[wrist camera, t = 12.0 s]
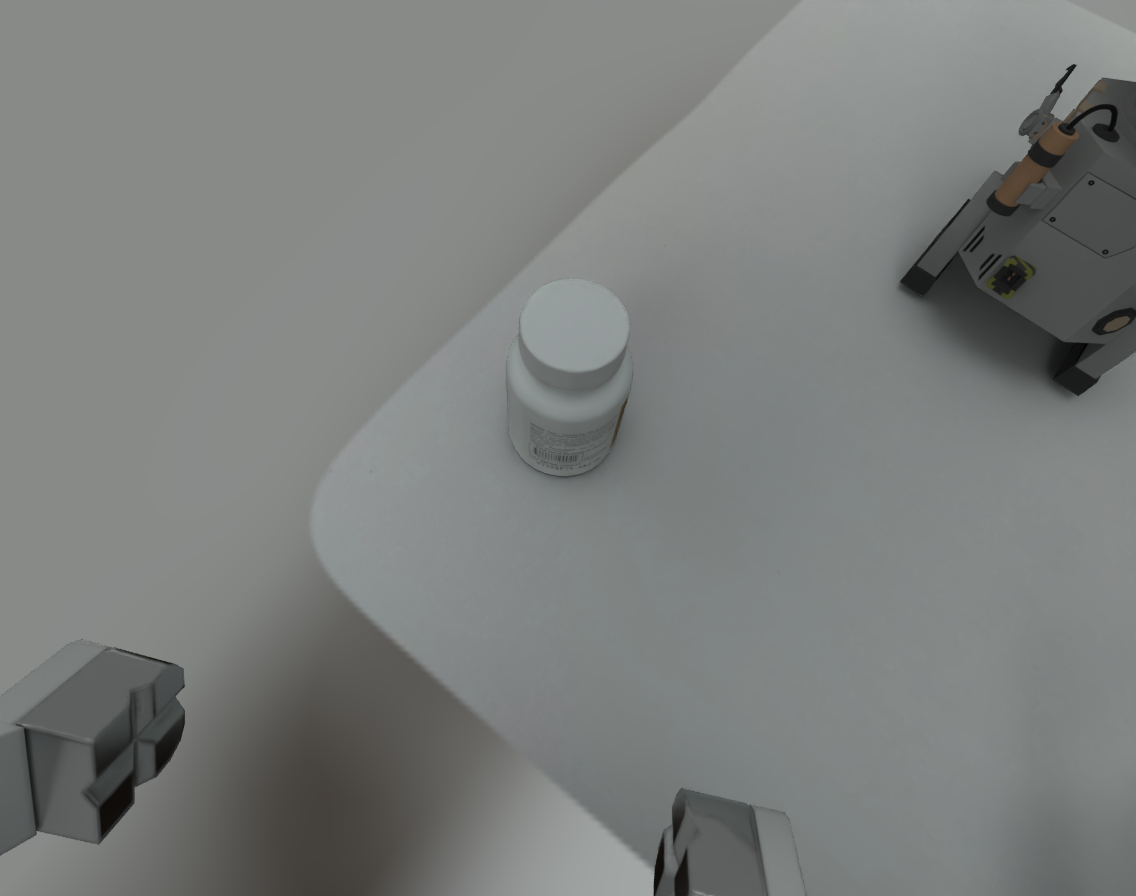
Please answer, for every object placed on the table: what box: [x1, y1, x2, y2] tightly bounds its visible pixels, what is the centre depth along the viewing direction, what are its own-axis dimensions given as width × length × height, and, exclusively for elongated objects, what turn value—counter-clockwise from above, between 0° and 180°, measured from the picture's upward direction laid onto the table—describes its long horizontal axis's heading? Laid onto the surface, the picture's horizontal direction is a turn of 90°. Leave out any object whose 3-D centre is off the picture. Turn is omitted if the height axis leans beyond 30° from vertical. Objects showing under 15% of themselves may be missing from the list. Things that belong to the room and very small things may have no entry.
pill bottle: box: [506, 278, 633, 476], centre depth 25 cm, size 4×4×8 cm
